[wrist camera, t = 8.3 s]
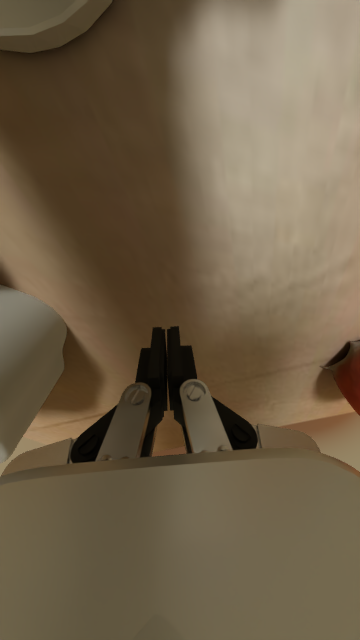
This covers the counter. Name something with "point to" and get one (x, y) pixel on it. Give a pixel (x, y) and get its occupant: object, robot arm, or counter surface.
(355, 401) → the fruit
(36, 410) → the lumpy-topped squat cylinder
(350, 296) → the counter surface
